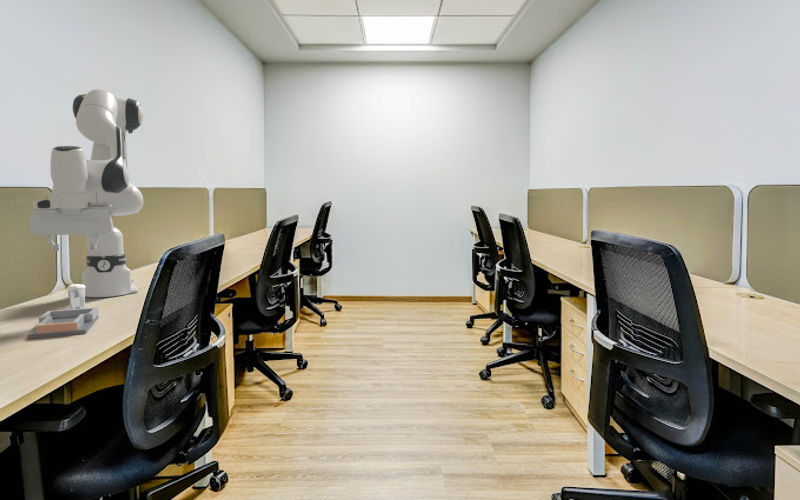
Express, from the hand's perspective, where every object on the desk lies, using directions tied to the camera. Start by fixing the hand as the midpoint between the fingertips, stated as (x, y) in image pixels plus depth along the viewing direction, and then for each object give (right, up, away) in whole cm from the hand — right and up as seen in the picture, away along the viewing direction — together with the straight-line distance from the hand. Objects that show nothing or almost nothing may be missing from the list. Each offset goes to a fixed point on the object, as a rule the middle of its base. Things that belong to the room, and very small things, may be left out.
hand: (74, 250), depth 142 cm
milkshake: (0, -19, +2) cm, 19 cm away
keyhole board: (+6, -21, -13) cm, 25 cm away
